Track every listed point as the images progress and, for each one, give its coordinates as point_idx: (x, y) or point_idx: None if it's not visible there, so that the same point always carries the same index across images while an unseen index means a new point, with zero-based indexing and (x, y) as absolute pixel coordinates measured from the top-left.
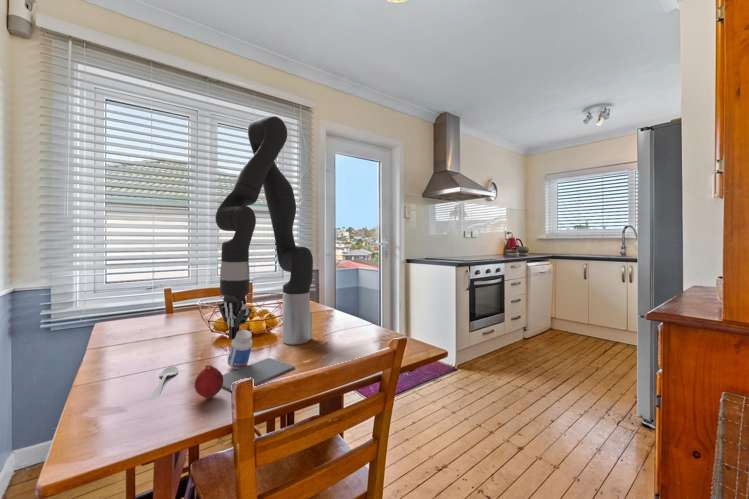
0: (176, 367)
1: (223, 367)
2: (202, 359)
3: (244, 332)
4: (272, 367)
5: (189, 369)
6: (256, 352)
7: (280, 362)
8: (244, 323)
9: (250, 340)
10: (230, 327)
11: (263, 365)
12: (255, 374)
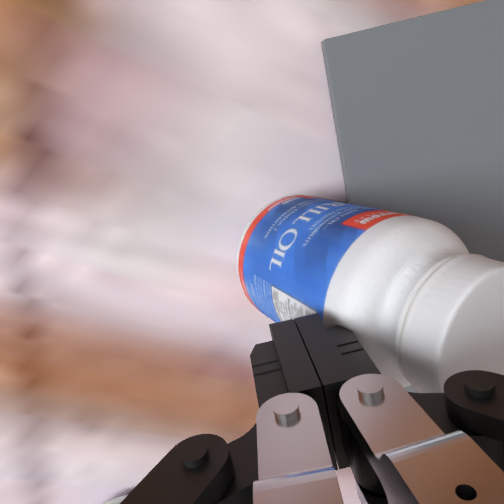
0: (119, 501)
1: (242, 312)
2: (28, 367)
3: (475, 336)
4: (497, 106)
5: (150, 444)
6: (107, 42)
7: (466, 17)
8: (493, 375)
9: (442, 244)
10: (332, 461)
11: (423, 135)
12: (502, 228)
